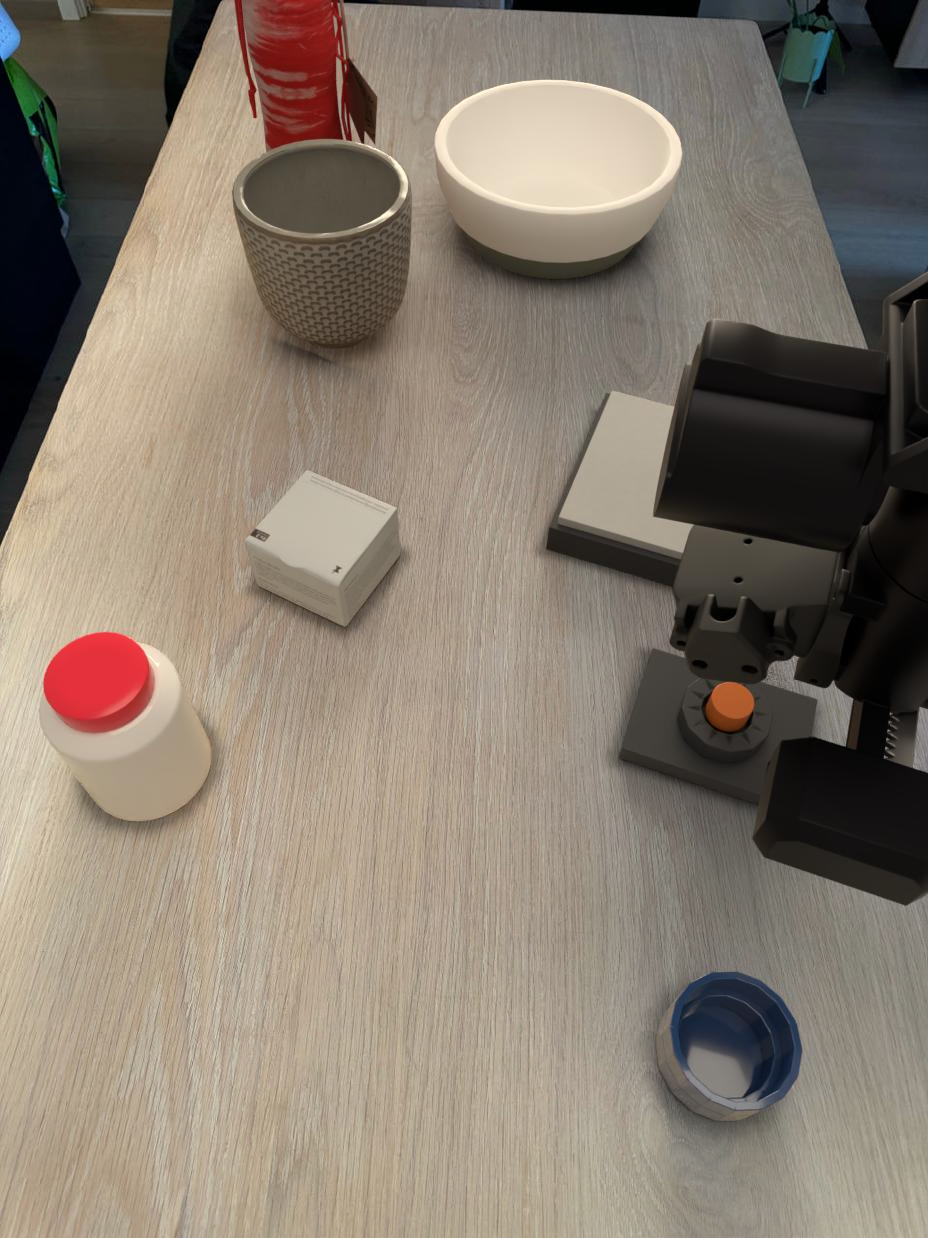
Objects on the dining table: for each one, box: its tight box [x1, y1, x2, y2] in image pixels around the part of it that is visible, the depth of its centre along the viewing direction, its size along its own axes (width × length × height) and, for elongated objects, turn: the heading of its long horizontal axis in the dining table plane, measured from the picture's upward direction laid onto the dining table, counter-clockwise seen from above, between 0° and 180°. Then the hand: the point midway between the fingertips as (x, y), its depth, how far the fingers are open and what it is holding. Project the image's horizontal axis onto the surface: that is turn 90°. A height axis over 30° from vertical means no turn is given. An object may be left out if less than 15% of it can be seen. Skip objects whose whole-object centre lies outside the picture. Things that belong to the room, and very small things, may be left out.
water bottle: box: [233, 0, 378, 152], centre depth 83 cm, size 12×8×25 cm, turn 84°
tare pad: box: [618, 647, 818, 806], centre depth 60 cm, size 11×8×3 cm
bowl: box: [433, 79, 684, 280], centre depth 89 cm, size 22×22×8 cm
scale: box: [545, 390, 693, 587], centre depth 71 cm, size 16×15×3 cm
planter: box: [231, 139, 413, 350], centre depth 78 cm, size 14×14×13 cm
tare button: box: [705, 682, 754, 732], centre depth 58 cm, size 3×3×2 cm
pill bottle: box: [38, 631, 213, 822], centre depth 55 cm, size 8×8×11 cm
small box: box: [243, 469, 402, 628], centre depth 66 cm, size 8×8×5 cm
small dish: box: [655, 970, 803, 1122], centre depth 49 cm, size 6×6×4 cm
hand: (809, 752), depth 45 cm, fingers open, 9 cm apart
